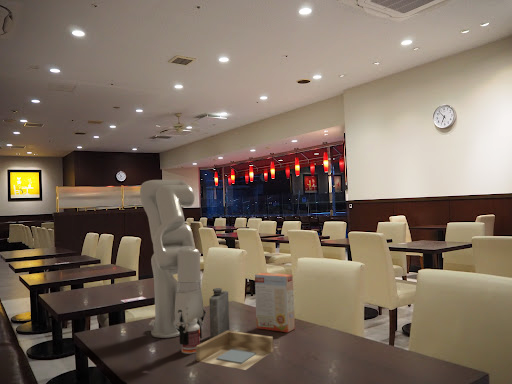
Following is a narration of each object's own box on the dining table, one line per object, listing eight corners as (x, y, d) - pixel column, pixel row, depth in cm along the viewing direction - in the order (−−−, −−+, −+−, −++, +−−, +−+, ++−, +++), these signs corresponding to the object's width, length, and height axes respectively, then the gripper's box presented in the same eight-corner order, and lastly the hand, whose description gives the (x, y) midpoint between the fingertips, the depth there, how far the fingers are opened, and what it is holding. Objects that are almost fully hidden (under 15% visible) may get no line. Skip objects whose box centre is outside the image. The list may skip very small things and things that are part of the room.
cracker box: (295, 329, 160) (293, 273, 161) (288, 333, 155) (286, 276, 156) (264, 324, 168) (262, 271, 168) (256, 328, 162) (254, 274, 163)
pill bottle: (203, 352, 138) (202, 318, 138) (186, 356, 134) (185, 321, 134) (195, 347, 143) (194, 314, 143) (178, 351, 139) (177, 317, 140)
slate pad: (216, 359, 129) (216, 358, 129) (232, 350, 137) (232, 348, 137) (241, 363, 125) (241, 362, 125) (256, 354, 133) (256, 352, 133)
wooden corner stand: (196, 362, 129) (195, 346, 129) (227, 345, 144) (227, 330, 144) (245, 372, 120) (245, 354, 120) (273, 352, 135) (272, 336, 136)
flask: (207, 345, 145) (205, 292, 145) (221, 332, 158) (219, 284, 159) (217, 345, 144) (215, 292, 144) (230, 333, 158) (229, 284, 158)
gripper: (196, 281, 149) (197, 332, 148) (162, 290, 133) (164, 347, 133) (213, 282, 145) (215, 335, 144) (181, 292, 130) (183, 351, 129)
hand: (190, 340), depth 139 cm, fingers closed on pill bottle, 6 cm apart
